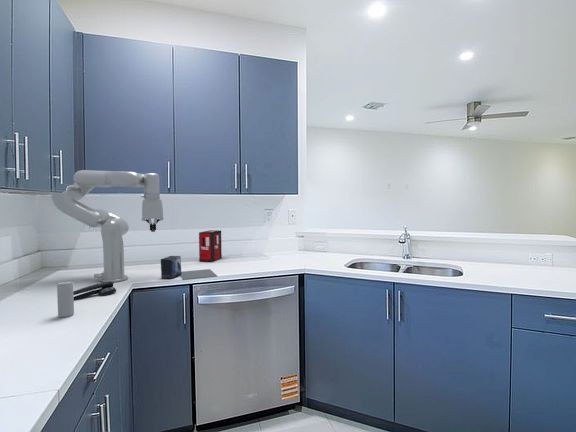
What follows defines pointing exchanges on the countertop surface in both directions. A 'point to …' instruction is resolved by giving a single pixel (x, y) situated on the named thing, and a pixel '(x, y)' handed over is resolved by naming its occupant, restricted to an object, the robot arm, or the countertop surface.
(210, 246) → the cleaning product box
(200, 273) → the mat
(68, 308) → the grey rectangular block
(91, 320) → the countertop surface
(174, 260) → the small box
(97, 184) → the robot arm
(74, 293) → the can opener
